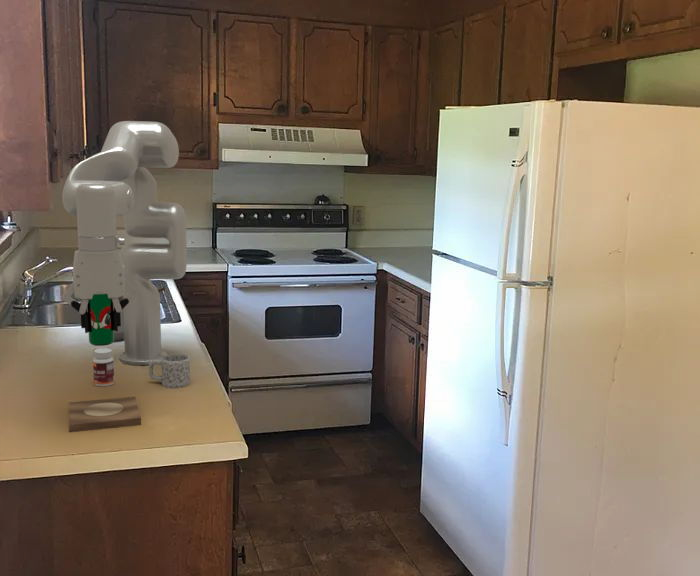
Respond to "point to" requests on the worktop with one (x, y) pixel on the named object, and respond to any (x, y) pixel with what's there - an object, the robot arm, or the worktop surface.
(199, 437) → the worktop surface
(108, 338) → the soda can
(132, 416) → the board
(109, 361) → the pill bottle
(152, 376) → the mug
